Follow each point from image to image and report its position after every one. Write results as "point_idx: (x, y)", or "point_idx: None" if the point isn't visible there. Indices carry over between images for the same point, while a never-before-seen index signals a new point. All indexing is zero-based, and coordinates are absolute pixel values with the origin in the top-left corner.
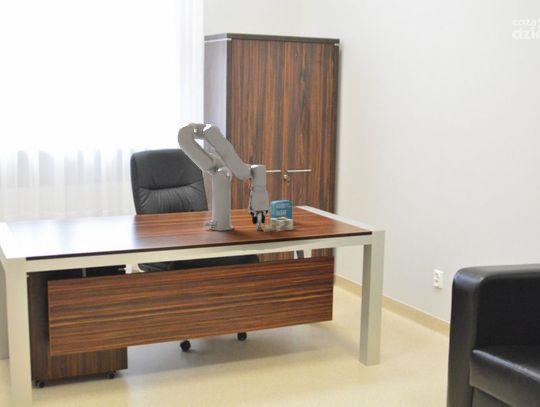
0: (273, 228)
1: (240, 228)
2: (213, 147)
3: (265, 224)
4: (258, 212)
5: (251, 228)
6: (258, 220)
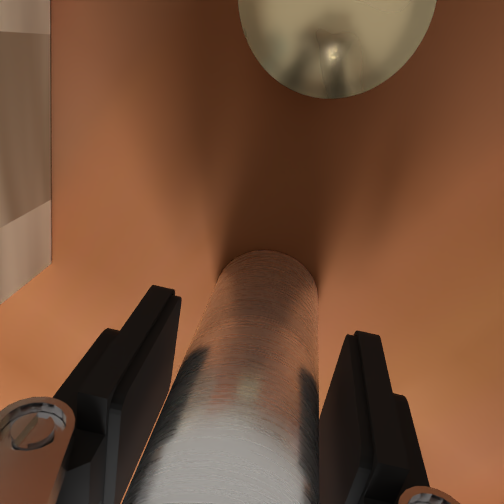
0: (42, 144)
1: None
2: None
3: (369, 14)
4: None
5: None
6: (298, 371)
